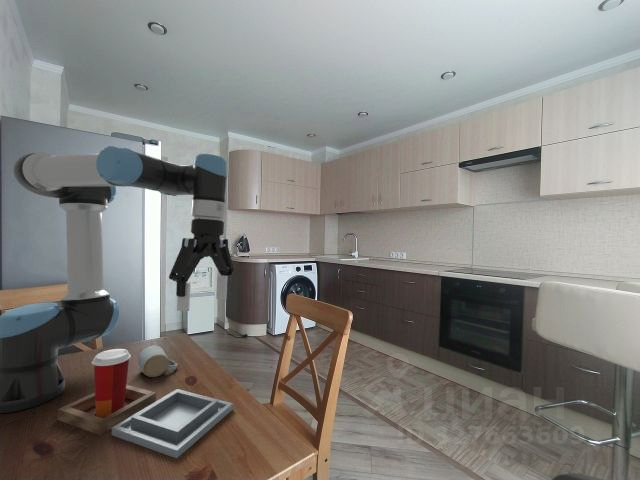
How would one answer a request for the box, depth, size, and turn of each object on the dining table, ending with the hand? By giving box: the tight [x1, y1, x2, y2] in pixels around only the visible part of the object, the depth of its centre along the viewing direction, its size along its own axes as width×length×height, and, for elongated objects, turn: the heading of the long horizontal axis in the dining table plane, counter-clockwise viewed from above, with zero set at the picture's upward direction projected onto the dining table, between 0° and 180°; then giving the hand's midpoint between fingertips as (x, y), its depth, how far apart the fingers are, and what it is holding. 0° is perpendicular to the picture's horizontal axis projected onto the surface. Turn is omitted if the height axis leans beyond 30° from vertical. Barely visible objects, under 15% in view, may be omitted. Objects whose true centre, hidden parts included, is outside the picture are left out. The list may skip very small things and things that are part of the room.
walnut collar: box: [57, 384, 157, 436], centre depth 72 cm, size 14×14×2 cm
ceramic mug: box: [137, 345, 178, 378], centre depth 94 cm, size 11×8×8 cm
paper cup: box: [91, 348, 132, 418], centre depth 72 cm, size 8×8×14 cm
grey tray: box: [111, 388, 234, 459], centre depth 69 cm, size 18×18×3 cm
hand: (203, 304), depth 73 cm, fingers open, 13 cm apart
